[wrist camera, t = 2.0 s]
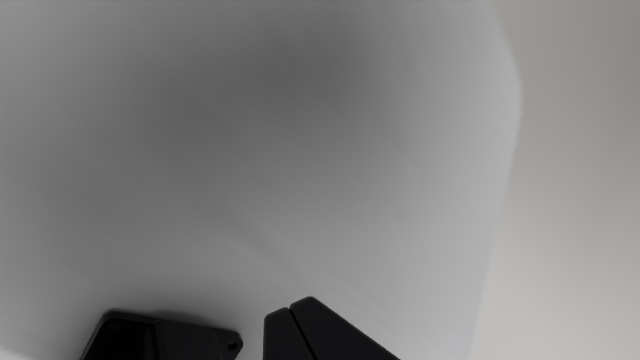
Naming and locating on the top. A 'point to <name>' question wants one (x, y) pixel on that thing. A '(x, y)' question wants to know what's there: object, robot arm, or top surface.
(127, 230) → the top surface
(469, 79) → the top surface
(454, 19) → the top surface
